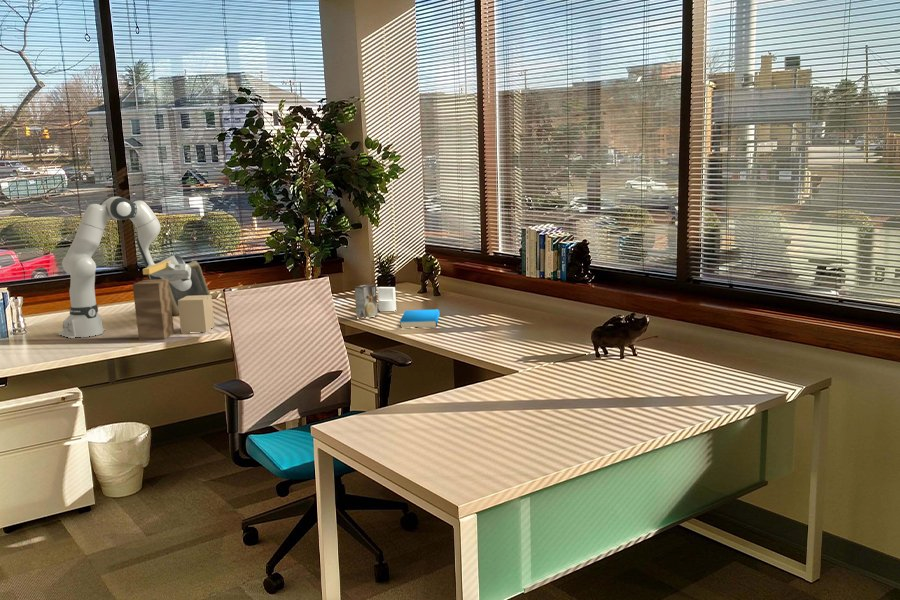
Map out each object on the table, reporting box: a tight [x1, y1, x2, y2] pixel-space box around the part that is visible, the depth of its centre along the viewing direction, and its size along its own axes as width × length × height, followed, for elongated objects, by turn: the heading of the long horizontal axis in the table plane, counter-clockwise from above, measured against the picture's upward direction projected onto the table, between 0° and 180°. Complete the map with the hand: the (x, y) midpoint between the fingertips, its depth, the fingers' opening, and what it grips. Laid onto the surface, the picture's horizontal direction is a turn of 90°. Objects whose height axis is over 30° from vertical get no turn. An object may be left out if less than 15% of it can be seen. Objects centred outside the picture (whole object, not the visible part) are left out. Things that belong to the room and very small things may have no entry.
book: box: [399, 308, 440, 329], centre depth 399 cm, size 17×4×25 cm
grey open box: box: [169, 260, 211, 317], centre depth 454 cm, size 33×14×25 cm, turn 165°
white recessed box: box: [377, 286, 397, 312], centre depth 430 cm, size 9×9×12 cm
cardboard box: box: [178, 294, 215, 333], centre depth 401 cm, size 12×12×16 cm
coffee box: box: [353, 283, 379, 318], centre depth 414 cm, size 9×6×16 cm
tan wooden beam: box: [142, 260, 171, 276], centre depth 396 cm, size 26×3×2 cm, turn 177°
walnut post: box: [132, 279, 175, 341], centre depth 390 cm, size 12×12×26 cm
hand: (162, 264), depth 403 cm, fingers closed on tan wooden beam, 3 cm apart
